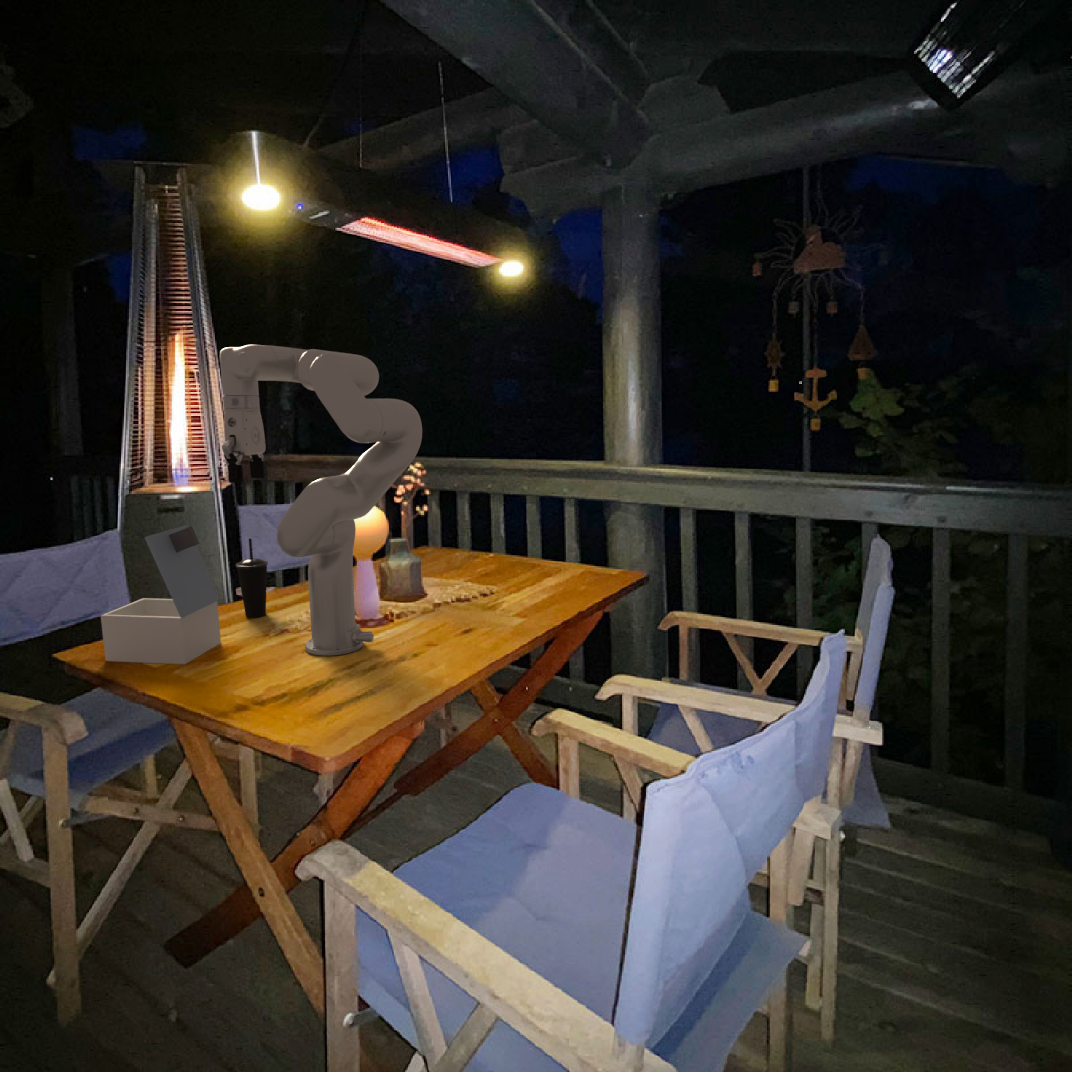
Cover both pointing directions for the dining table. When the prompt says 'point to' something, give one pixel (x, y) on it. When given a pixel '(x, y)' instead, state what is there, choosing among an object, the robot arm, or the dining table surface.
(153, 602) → the carton
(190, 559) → the lid flap
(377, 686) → the dining table surface
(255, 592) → the drinking cup
